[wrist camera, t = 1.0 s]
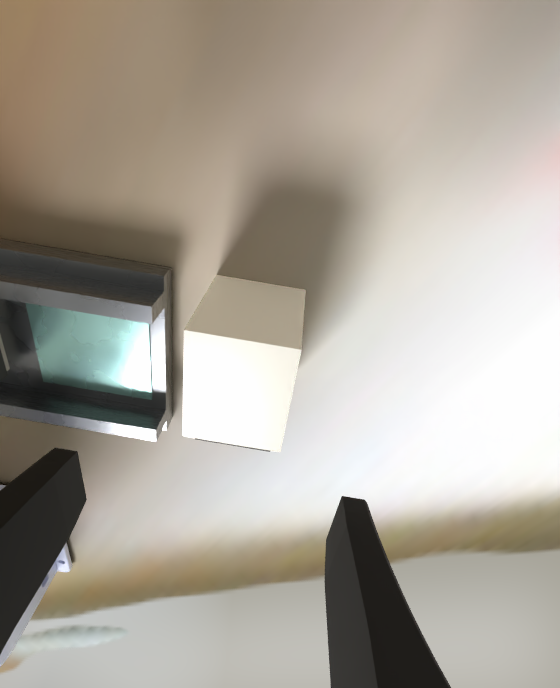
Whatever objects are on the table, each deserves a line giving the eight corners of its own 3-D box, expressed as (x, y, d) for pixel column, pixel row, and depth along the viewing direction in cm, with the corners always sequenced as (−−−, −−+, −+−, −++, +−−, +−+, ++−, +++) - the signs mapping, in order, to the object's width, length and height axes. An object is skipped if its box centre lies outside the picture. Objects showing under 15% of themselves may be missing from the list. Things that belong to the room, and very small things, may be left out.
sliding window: (172, 417, 22) (156, 451, 20) (-74, 376, 22) (-116, 405, 20) (171, 267, 17) (150, 290, 15) (-143, 214, 17) (-208, 230, 15)
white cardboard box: (305, 289, 17) (301, 349, 13) (286, 387, 20) (278, 462, 16) (217, 274, 17) (183, 330, 13) (210, 374, 20) (182, 446, 16)
